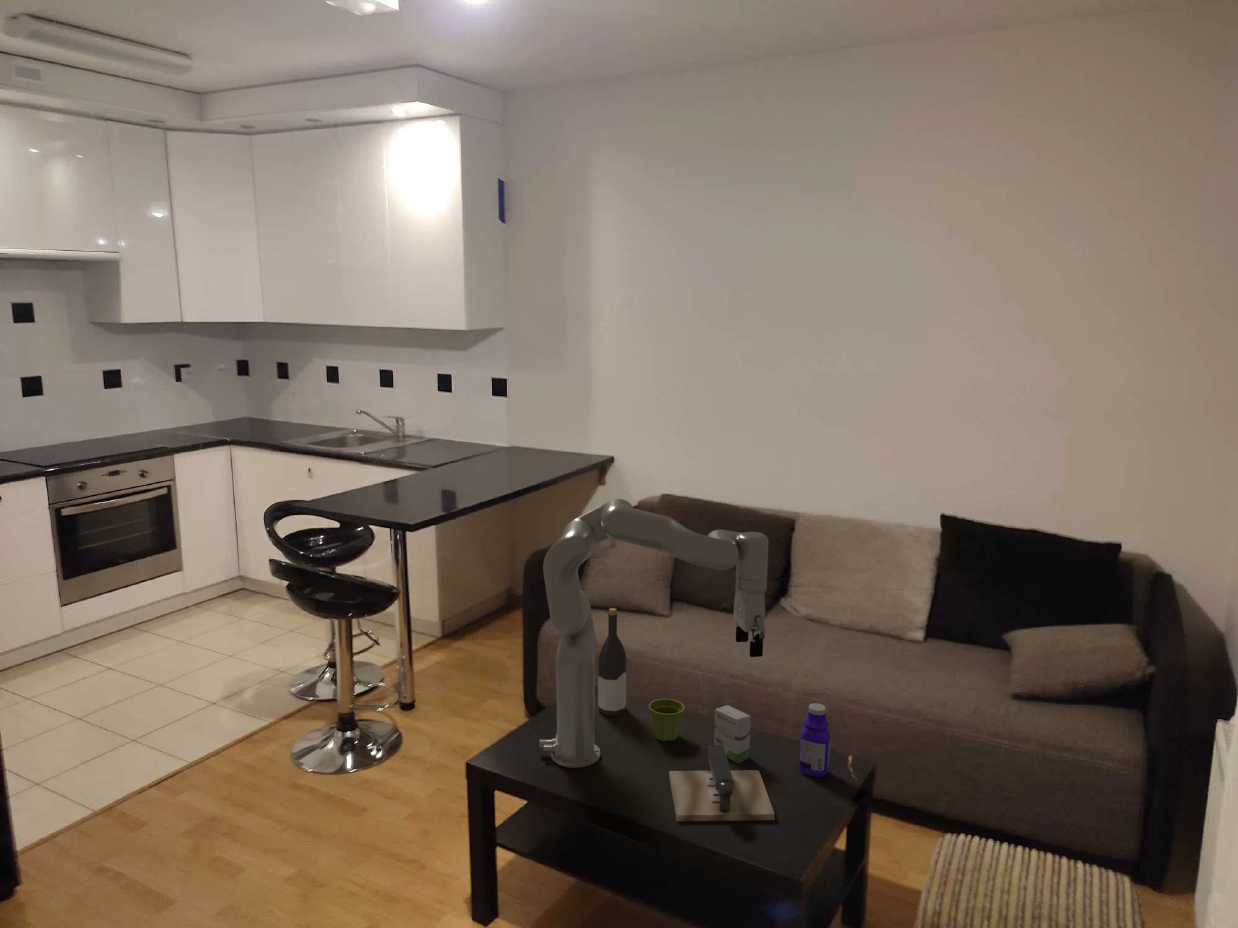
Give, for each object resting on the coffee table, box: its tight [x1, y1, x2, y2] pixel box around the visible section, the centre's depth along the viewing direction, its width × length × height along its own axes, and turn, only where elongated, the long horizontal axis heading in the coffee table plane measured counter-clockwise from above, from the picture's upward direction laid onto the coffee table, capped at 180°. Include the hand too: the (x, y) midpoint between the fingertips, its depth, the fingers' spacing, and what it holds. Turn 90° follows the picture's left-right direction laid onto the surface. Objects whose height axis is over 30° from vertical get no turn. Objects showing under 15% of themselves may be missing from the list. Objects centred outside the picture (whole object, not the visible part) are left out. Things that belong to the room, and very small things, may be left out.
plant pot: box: [648, 698, 685, 742], centre depth 237 cm, size 9×9×9 cm
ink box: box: [713, 704, 751, 764], centre depth 227 cm, size 9×5×12 cm, turn 39°
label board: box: [668, 769, 776, 822], centre depth 208 cm, size 22×19×6 cm
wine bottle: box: [597, 607, 627, 717], centre depth 250 cm, size 8×8×30 cm
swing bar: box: [705, 744, 734, 796], centre depth 208 cm, size 4×19×2 cm, turn 2°
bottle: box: [798, 703, 832, 778], centre depth 219 cm, size 7×6×17 cm
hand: (748, 648), depth 221 cm, fingers open, 9 cm apart
